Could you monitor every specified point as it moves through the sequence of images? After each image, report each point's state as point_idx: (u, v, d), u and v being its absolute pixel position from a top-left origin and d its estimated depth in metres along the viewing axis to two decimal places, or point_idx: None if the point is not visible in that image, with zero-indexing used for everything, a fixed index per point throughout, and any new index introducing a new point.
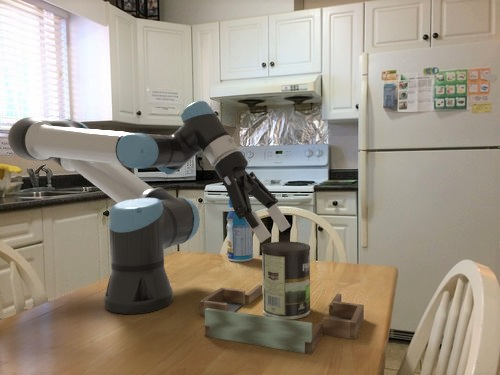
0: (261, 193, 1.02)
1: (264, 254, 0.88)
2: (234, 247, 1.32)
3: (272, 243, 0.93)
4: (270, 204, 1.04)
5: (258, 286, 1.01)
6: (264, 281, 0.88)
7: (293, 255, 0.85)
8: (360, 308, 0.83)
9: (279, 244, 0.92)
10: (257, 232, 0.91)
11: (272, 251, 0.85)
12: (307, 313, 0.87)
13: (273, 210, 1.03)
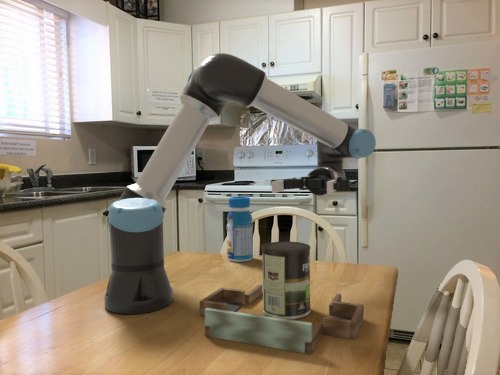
0: (295, 187, 1.10)
1: (264, 254, 0.88)
2: (234, 247, 1.32)
3: (272, 243, 0.93)
4: None
5: (258, 286, 1.01)
6: (264, 281, 0.88)
7: (293, 255, 0.85)
8: (360, 308, 0.83)
9: (279, 244, 0.92)
10: (332, 184, 0.98)
11: (272, 251, 0.85)
12: (307, 313, 0.87)
13: (282, 186, 1.06)
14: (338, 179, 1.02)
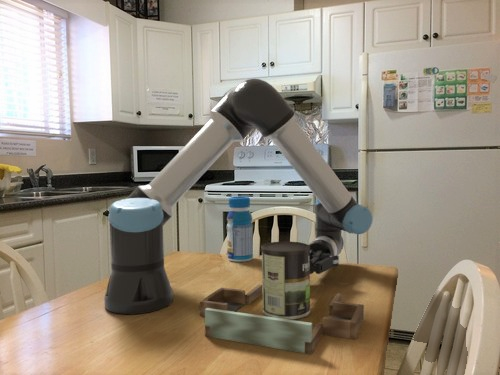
0: None
1: (264, 254, 0.87)
2: (234, 247, 1.32)
3: (272, 243, 0.93)
4: None
5: (258, 286, 1.01)
6: (264, 281, 0.88)
7: (293, 255, 0.84)
8: (360, 308, 0.83)
9: (279, 244, 0.92)
10: None
11: (272, 251, 0.85)
12: (307, 313, 0.87)
13: None
14: None
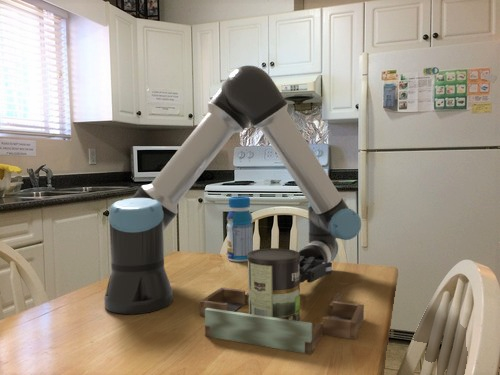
0: None
1: (250, 263, 0.81)
2: (234, 247, 1.32)
3: (259, 250, 0.86)
4: None
5: None
6: (250, 292, 0.81)
7: (281, 264, 0.78)
8: (360, 308, 0.83)
9: (266, 251, 0.85)
10: None
11: (258, 260, 0.78)
12: None
13: None
14: None
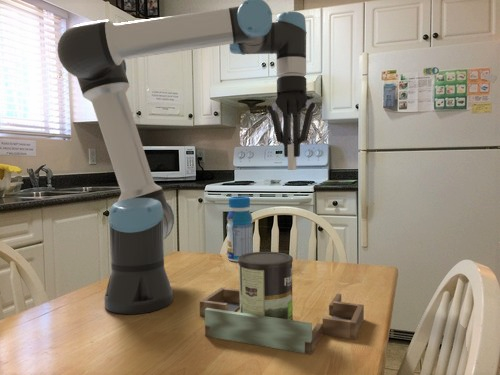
0: (290, 124, 1.10)
1: (241, 267, 0.78)
2: (234, 247, 1.32)
3: (250, 254, 0.83)
4: (289, 142, 1.09)
5: None
6: (241, 297, 0.78)
7: (273, 269, 0.75)
8: (360, 308, 0.83)
9: (258, 255, 0.82)
10: (294, 161, 1.08)
11: (250, 264, 0.76)
12: None
13: None
14: None
